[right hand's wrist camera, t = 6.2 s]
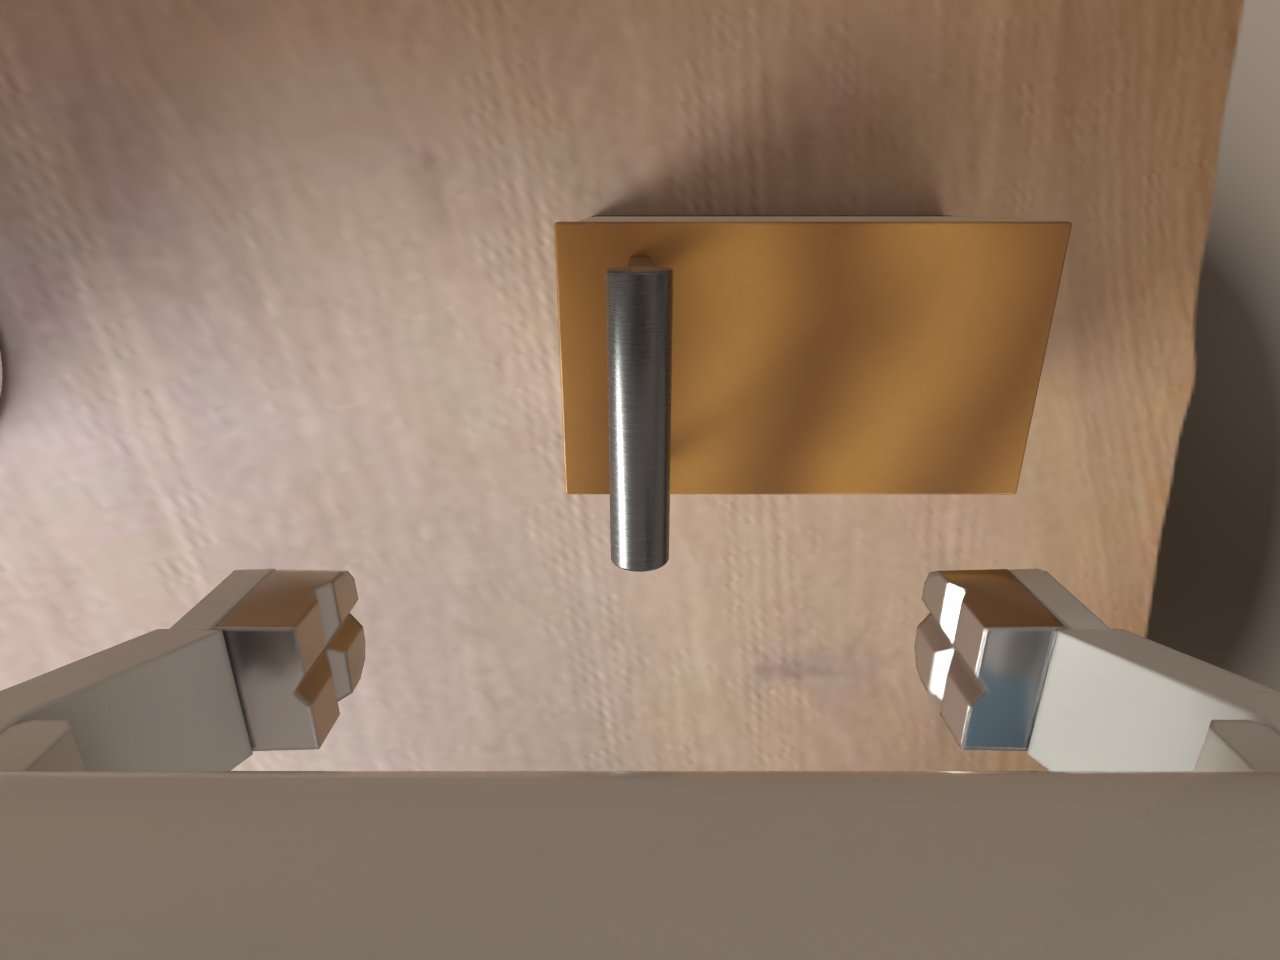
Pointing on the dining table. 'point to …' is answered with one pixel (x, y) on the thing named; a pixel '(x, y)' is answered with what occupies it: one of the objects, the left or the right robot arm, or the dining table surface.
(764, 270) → the lid
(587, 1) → the dining table surface
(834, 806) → the right robot arm
